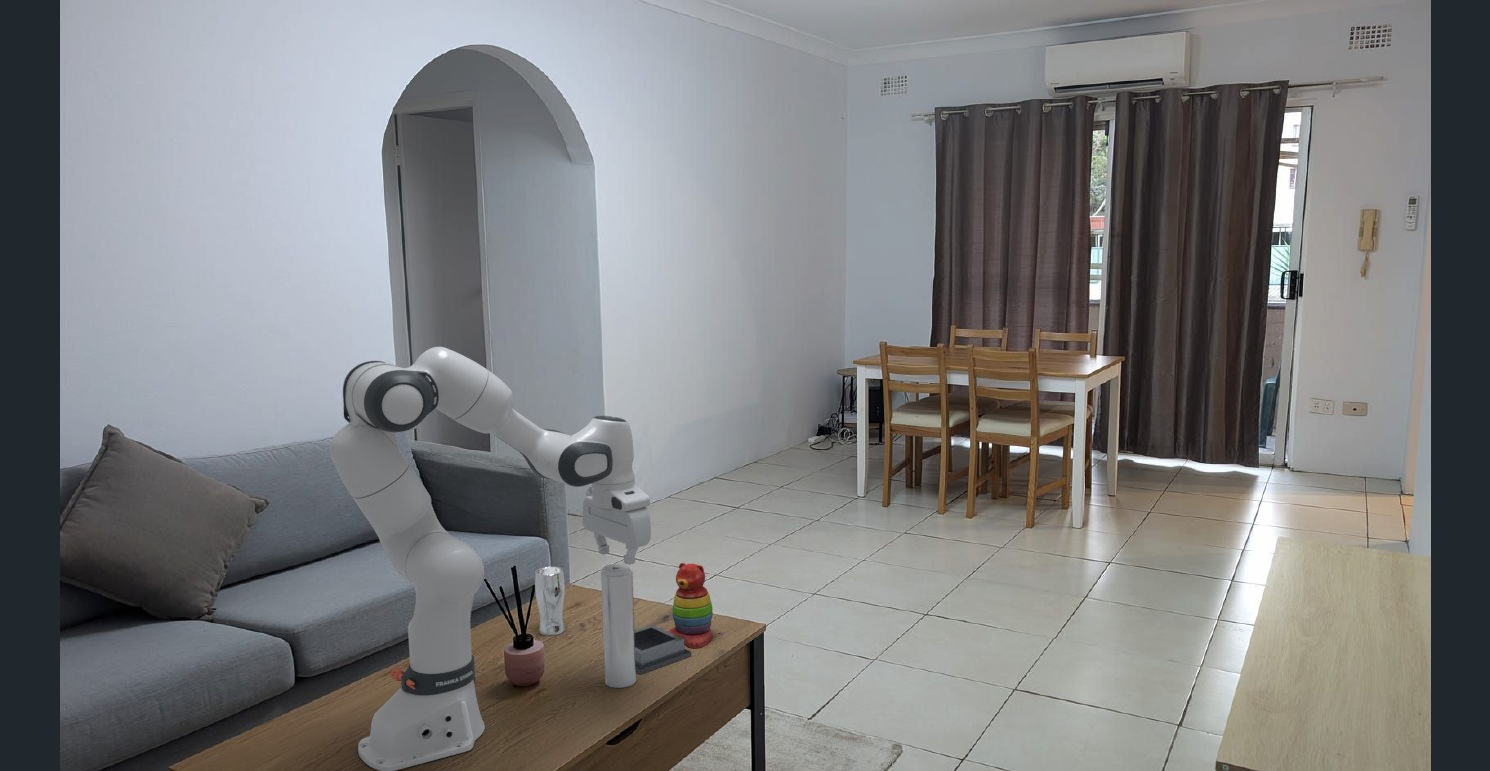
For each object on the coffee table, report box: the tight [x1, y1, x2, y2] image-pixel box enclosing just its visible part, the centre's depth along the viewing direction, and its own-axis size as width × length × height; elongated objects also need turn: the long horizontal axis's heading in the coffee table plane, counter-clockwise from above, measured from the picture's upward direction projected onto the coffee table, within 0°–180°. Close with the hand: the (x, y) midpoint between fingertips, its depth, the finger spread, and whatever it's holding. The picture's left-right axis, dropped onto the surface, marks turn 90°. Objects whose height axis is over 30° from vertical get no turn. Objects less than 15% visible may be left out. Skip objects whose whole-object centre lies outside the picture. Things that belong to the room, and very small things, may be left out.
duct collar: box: [634, 624, 692, 675], centre depth 217 cm, size 14×14×4 cm
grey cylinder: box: [600, 563, 637, 689], centre depth 203 cm, size 6×6×25 cm
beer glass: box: [534, 566, 566, 637], centre depth 232 cm, size 7×7×15 cm
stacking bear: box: [668, 562, 713, 649], centre depth 226 cm, size 11×10×18 cm
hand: (616, 558), depth 201 cm, fingers open, 8 cm apart
